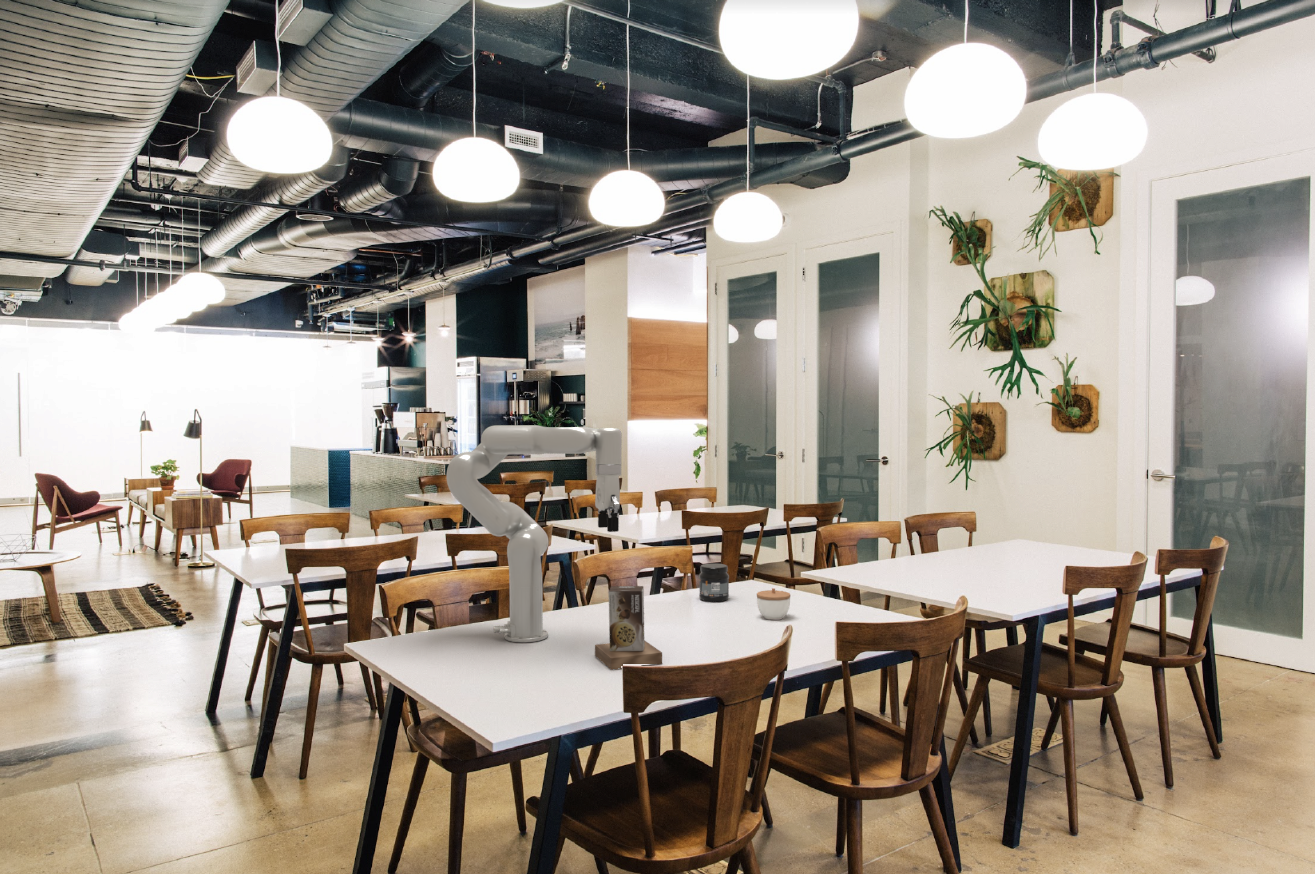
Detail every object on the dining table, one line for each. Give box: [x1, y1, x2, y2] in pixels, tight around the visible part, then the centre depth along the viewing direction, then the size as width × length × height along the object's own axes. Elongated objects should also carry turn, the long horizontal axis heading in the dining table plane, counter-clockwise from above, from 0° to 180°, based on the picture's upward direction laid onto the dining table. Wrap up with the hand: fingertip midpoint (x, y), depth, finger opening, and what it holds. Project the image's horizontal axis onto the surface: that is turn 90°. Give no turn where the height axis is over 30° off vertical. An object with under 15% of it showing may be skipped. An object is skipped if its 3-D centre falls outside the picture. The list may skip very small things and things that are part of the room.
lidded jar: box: [756, 587, 791, 621], centre depth 270 cm, size 11×11×9 cm
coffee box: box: [607, 585, 646, 651], centre depth 224 cm, size 9×6×16 cm
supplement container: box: [698, 563, 730, 603], centre depth 298 cm, size 10×10×12 cm
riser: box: [594, 640, 663, 671], centre depth 224 cm, size 14×14×3 cm
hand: (608, 529), depth 244 cm, fingers open, 9 cm apart
